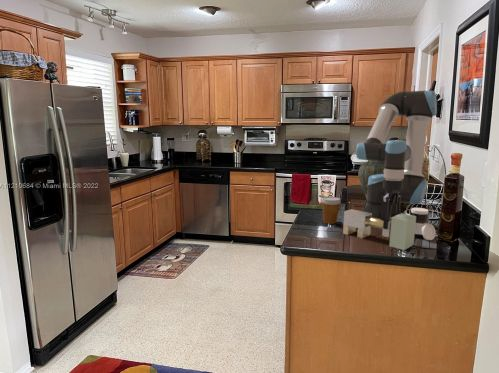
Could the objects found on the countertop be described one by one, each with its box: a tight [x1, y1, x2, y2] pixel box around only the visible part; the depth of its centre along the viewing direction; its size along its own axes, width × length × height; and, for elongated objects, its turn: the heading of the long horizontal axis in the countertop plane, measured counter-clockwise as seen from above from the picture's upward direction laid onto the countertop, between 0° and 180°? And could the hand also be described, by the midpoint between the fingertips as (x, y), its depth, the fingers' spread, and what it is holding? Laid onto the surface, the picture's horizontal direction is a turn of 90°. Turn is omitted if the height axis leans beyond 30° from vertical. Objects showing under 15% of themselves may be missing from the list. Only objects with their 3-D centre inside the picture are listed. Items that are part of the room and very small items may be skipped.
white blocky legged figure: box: [342, 208, 372, 239], centre depth 159 cm, size 7×10×10 cm
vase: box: [357, 160, 385, 200], centre depth 218 cm, size 22×22×30 cm
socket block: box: [388, 212, 416, 251], centre depth 145 cm, size 9×6×12 cm, turn 135°
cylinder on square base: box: [365, 216, 392, 232], centre depth 152 cm, size 5×20×6 cm, turn 45°
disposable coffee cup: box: [320, 196, 342, 225], centre depth 178 cm, size 10×10×12 cm
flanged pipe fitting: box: [409, 207, 437, 241], centre depth 157 cm, size 12×11×12 cm
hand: (388, 234), depth 150 cm, fingers open, 5 cm apart
